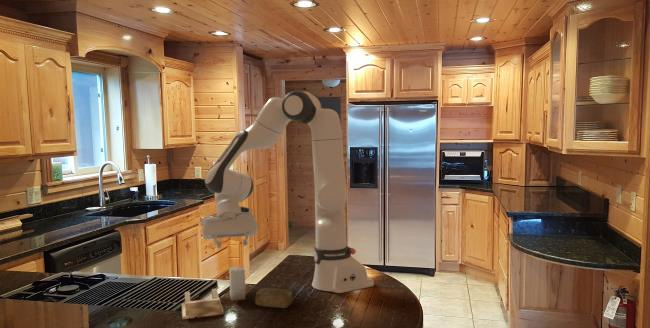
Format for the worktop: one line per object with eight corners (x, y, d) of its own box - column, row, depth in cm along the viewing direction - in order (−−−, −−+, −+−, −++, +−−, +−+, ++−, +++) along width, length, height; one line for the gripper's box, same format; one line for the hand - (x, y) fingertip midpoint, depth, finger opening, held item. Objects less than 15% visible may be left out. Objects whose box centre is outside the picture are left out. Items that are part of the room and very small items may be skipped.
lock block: (243, 294, 155) (242, 265, 155) (245, 299, 150) (244, 269, 150) (229, 295, 154) (229, 267, 153) (231, 300, 149) (230, 271, 148)
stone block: (287, 310, 141) (287, 294, 140) (253, 307, 144) (253, 292, 143) (293, 303, 146) (293, 288, 146) (260, 301, 149) (260, 286, 149)
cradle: (219, 300, 149) (219, 288, 149) (223, 314, 138) (223, 300, 137) (181, 305, 145) (181, 292, 145) (182, 319, 134) (182, 305, 134)
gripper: (200, 211, 166) (202, 243, 157) (255, 208, 172) (260, 238, 163) (199, 221, 170) (202, 253, 161) (253, 218, 177) (258, 248, 168)
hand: (232, 245), depth 162 cm, fingers open, 8 cm apart
